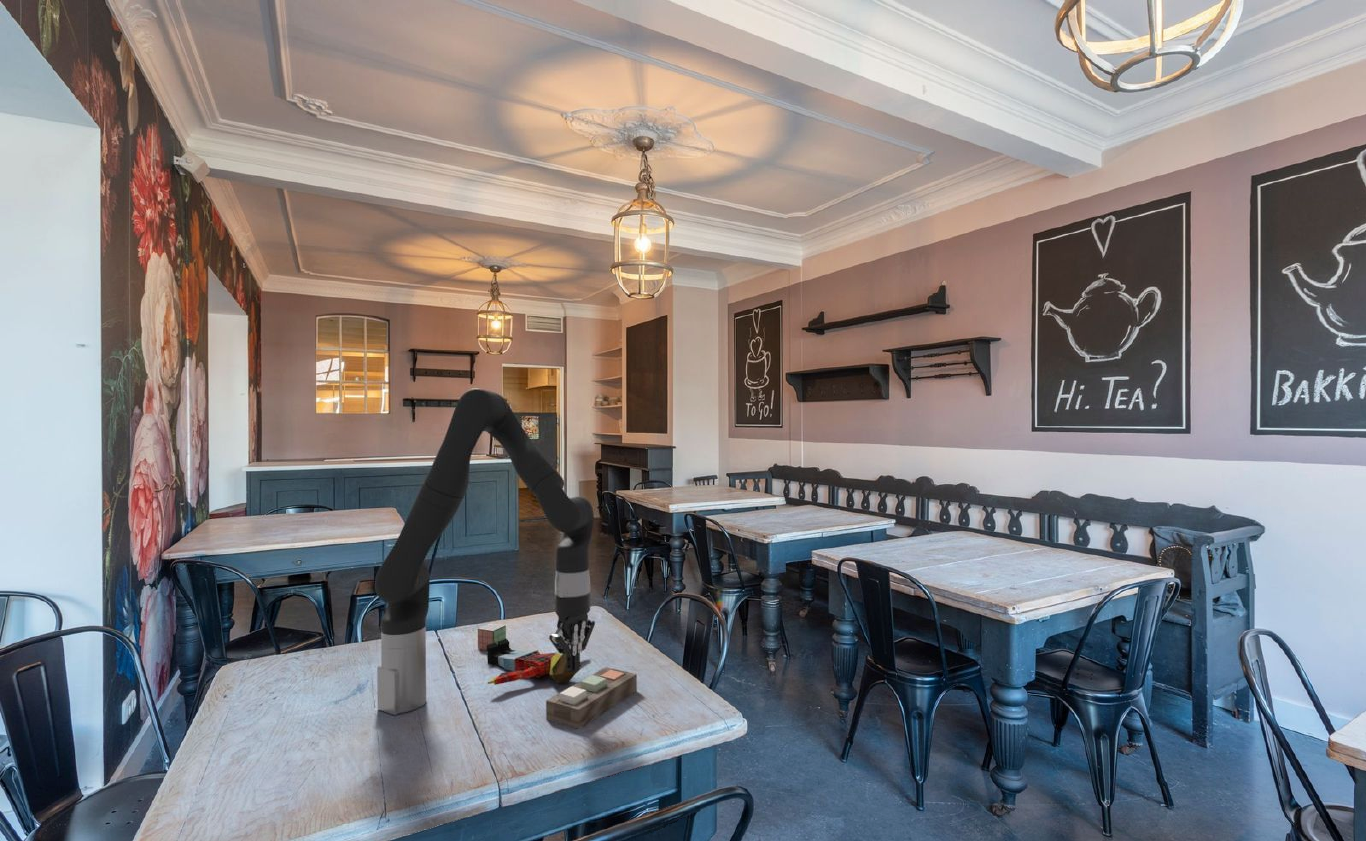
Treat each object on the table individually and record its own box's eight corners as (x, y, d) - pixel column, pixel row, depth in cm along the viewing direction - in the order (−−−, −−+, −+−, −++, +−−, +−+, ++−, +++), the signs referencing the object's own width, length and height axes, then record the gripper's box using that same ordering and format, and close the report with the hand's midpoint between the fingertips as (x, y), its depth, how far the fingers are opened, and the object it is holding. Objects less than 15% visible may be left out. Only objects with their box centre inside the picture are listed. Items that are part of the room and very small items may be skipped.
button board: (579, 729, 130) (578, 709, 130) (546, 719, 134) (546, 700, 134) (636, 691, 148) (636, 674, 148) (606, 683, 152) (606, 666, 152)
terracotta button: (614, 692, 144) (614, 679, 144) (600, 688, 146) (600, 675, 146) (624, 685, 148) (624, 673, 148) (610, 682, 150) (610, 669, 150)
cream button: (574, 711, 132) (574, 697, 132) (559, 707, 134) (559, 693, 134) (586, 703, 136) (586, 690, 136) (572, 700, 138) (571, 686, 138)
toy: (446, 690, 156) (523, 710, 138) (444, 659, 157) (521, 674, 139) (543, 653, 181) (619, 666, 163) (541, 626, 181) (617, 636, 163)
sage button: (595, 698, 138) (594, 685, 138) (580, 694, 140) (580, 681, 140) (606, 691, 142) (606, 678, 142) (592, 688, 144) (592, 675, 144)
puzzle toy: (506, 645, 180) (506, 625, 180) (493, 651, 175) (493, 631, 175) (490, 642, 182) (490, 622, 182) (477, 649, 177) (477, 628, 177)
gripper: (578, 581, 143) (579, 657, 143) (538, 595, 132) (538, 678, 132) (605, 585, 139) (605, 663, 139) (565, 600, 128) (566, 685, 128)
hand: (573, 670), depth 135 cm, fingers closed
